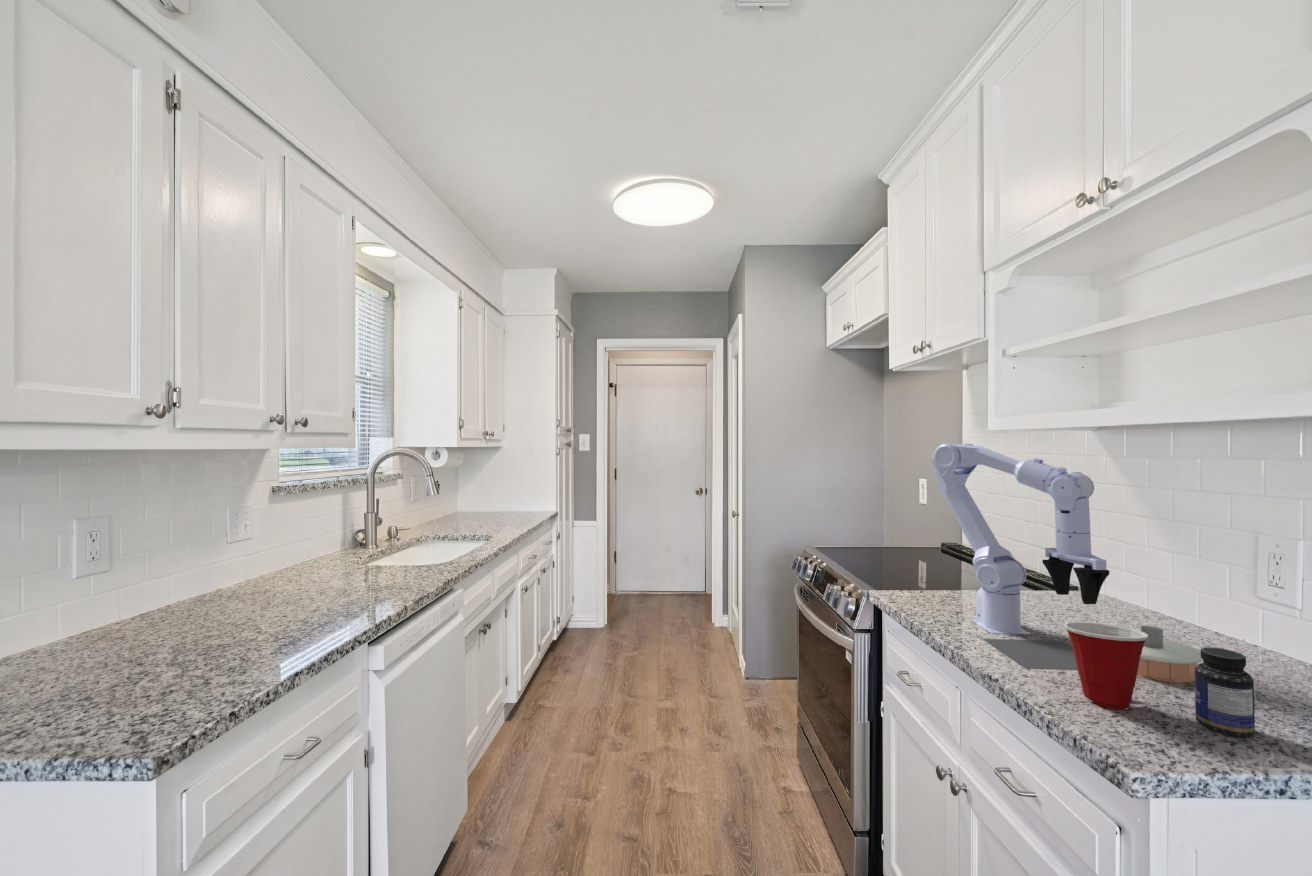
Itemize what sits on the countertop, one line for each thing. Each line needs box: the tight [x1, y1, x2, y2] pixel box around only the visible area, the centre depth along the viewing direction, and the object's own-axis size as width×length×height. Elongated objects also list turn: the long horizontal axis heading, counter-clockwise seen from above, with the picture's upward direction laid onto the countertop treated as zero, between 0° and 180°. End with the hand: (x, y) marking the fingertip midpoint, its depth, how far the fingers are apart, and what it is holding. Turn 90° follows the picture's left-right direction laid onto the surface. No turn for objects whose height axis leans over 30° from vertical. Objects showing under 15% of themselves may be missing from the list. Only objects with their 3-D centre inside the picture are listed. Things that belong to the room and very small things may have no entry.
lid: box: [1140, 625, 1203, 664], centre depth 103 cm, size 13×13×4 cm
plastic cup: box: [1063, 621, 1149, 710], centre depth 91 cm, size 11×11×12 cm
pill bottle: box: [1194, 646, 1256, 738], centre depth 82 cm, size 6×6×11 cm
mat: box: [982, 638, 1078, 671], centre depth 111 cm, size 16×16×1 cm
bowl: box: [1137, 658, 1198, 683], centre depth 102 cm, size 11×11×4 cm
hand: (1075, 599), depth 114 cm, fingers open, 7 cm apart
